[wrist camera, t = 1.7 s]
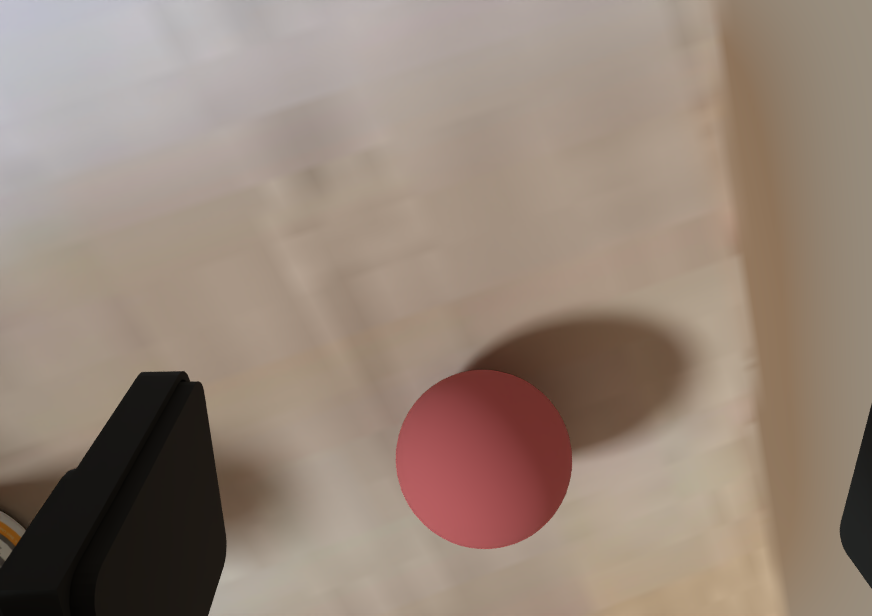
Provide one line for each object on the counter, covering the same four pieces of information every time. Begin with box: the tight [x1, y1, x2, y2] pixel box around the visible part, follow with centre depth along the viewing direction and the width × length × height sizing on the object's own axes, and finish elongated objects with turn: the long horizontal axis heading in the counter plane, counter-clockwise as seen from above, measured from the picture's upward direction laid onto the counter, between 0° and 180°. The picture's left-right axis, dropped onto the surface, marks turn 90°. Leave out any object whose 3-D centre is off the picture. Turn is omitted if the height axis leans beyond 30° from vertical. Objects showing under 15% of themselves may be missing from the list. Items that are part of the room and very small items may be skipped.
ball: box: [396, 370, 572, 549], centre depth 27 cm, size 6×6×6 cm
